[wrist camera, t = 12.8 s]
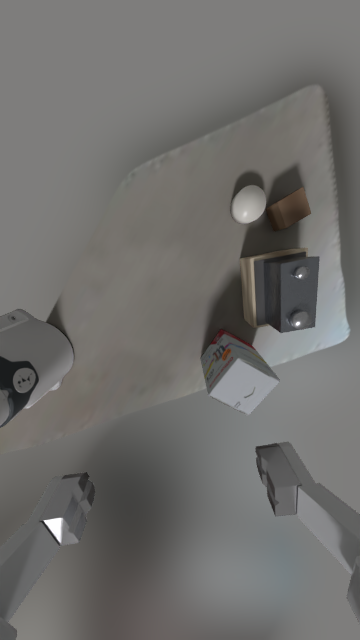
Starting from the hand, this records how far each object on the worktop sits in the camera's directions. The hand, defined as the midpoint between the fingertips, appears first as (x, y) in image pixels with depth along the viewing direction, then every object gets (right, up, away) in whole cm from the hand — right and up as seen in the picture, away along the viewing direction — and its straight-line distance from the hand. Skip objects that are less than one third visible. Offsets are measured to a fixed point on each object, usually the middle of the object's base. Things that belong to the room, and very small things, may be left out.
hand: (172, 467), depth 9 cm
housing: (+17, +12, +21) cm, 30 cm away
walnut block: (+18, +25, +23) cm, 38 cm away
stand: (+17, +14, +27) cm, 34 cm away
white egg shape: (+11, +26, +22) cm, 36 cm away
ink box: (+10, 0, +31) cm, 33 cm away
